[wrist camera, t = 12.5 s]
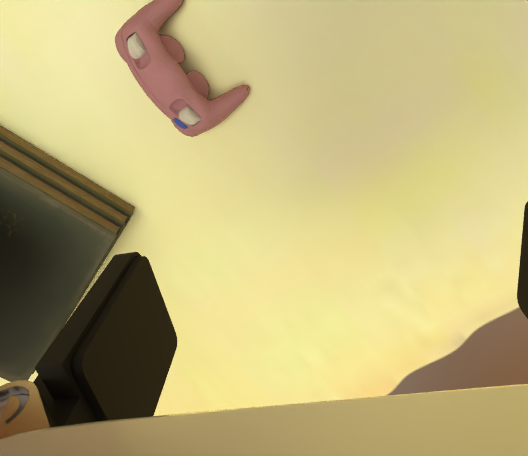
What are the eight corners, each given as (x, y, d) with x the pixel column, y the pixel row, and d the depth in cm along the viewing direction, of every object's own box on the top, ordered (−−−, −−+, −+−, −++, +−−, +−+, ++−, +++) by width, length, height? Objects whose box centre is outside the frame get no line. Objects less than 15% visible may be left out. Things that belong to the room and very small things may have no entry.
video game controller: (149, 14, 35) (91, 44, 30) (181, -21, 32) (122, 6, 27) (223, 114, 38) (180, 155, 34) (258, 92, 35) (217, 133, 31)
